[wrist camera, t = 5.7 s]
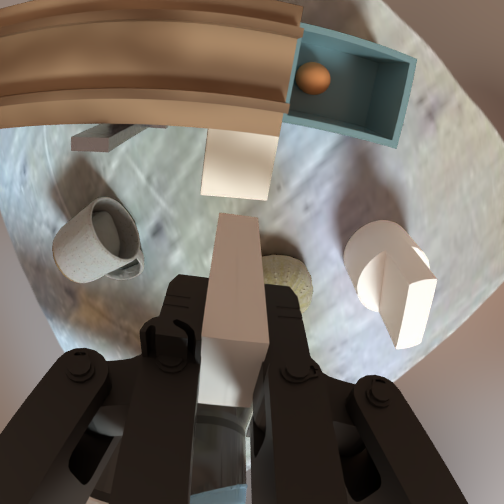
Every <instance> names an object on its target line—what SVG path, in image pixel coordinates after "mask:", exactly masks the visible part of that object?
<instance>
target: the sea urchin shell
mask: <svg viewBox="0 0 504 504" xmlns="http://www.w3.org/2000/svg"><path fill="white" fill-rule="evenodd" d="M262 267H263V277H264V284H273V285H282V286H290V288H291V289H292V290H293V292H294V293H295V294H296V295H297V297H298V300H299V305H300V311H301V314H302V313H304V312H305V311H306V309H307V308H308V306H309V305H310V303H311V299H312V294H313V286H312V280H311V275H310V274H309V272H308V270H307V268H306V266H305V265H304V264H303V263H302V262H301V261H300V260H298V259H295V258H292V257H290V256H288V255H287V256H285V255H274V254H272V255H269V256H263V257H262Z"/></svg>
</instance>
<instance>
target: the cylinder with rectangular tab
mask: <svg viewBox="0 0 504 504" xmlns="http://www.w3.org/2000/svg"><path fill="white" fill-rule="evenodd" d="M343 259H344V266H345V268H346V270H347V272H348V275H349V277H350V279H351V281H352V283H353V286H354V288H355V290H356V293H357V295H358V297H359V299H360V301H361V303H362V304H363V305H364V306H365V307H366V308H368V309H370V310H372V311H376V312H379V313H380V315H381V317H382V319H383V321H384V324H385V326H386V328H387V330H388V332H389V335H390V337H391V339H392V341H393V344H394V346H395V348H396V349H404V348H409V347H412V346H415V345H418V344H420V343H421V341H422V337H423V334H424V330H425V327H426V323H427V320H428V316H429V312H430V308H431V304H432V300H433V296H434V292H435V288H436V283H437V278H436V277H435V276H434V274H433V273H432V272H431V271H430V265H429V261H428V258H427V257H426V255H425V254H424V252H423V251H422V250H421V249H420V247H419V246H418V245H417V244H416V243H415V242H414V240H413V239H412V238H411V237H410V236H409V234H408V233H407V232H406V231H405V230H404V229H403V227H401V226H400V225H398V224H397V223H395V222H392V221H389V220H378V221H374V222H370V223H368V224H366V225H364V226H362V227H361V228H360V229H359V230H357V231H356V232H355V233H354V234H353V235H352V237H351V238H350V239H349V241H348V243H347V245H346V247H345V250H344V257H343Z"/></svg>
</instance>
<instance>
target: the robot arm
mask: <svg viewBox="0 0 504 504" xmlns="http://www.w3.org/2000/svg"><path fill="white" fill-rule="evenodd" d="M140 340H141V349H142V354H140V355H139V356H136V357H134V358H131V359H125V360H116V361H106V360H105V359H104V357H103V356H102V355H101V354H99V353H98V352H97V351H95V350H91V349H87V348H76V349H73V350H70V351H68V352H65V353H64V354H63V355H62V356H61V357H59V358H58V359H57V361H56V362H55V363H54V364H53V366H52V367H51V368H50V369H49V371H48V372H47V373H46V374H45V376H44V377H43V378H42V380H41V381H40V382H39V383H38V384H37V386H36V387H35V388H34V390H33V391H32V392H31V394H30V395H29V396H28V397H27V399H26V400H25V401H24V403H23V404H22V405H21V407H20V408H19V409H18V411H17V412H16V413H15V415H14V416H13V417H12V419H11V420H10V421H9V423H8V424H7V426H6V427H5V429H4V430H3V431H2V433H1V434H0V504H245V501H246V489H247V484H246V446H245V430H246V427H247V424H248V421H249V419H250V416H251V413H252V411H253V416H252V419H251V421H250V424H249V427H248V430H247V435H246V437H250V445H251V488H252V504H468V502H467V501H466V499H465V497H464V495H463V494H462V492H461V490H460V488H459V487H458V485H457V483H456V482H455V480H454V478H453V476H452V475H451V473H450V471H449V469H448V468H447V466H446V465H445V463H444V461H443V459H442V458H441V456H440V454H439V453H438V451H437V450H436V448H435V446H434V445H433V443H432V441H431V440H430V438H429V436H428V435H427V433H426V431H425V430H424V428H423V427H422V425H421V423H420V422H419V420H418V419H417V417H416V415H415V414H414V412H413V411H412V409H411V407H410V406H409V404H408V403H407V401H406V400H405V398H404V396H403V395H402V394H401V392H400V390H399V389H398V388H397V387H396V386H395V384H394V383H393V382H391V381H390V380H388V379H386V378H385V377H381V376H377V375H367V376H365V377H363V378H360V379H359V380H358V382H357V383H356V384H352V383H348V382H344V381H341V380H337V379H334V378H332V377H329V376H327V375H326V374H324V373H323V372H322V371H321V369H320V366H319V365H318V364H317V363H316V362H315V361H314V360H313V359H312V358H311V356H310V353H309V348H308V343H307V338H306V333H305V328H304V324H303V320H302V314H301V311H300V305H299V300H298V297H297V295H296V294H295V293H294V292H293V290H292V289H291V288H290V286H282V285H273V284H264V277H263V267H262V256H261V245H260V234H259V224H258V218H257V217H249V216H242V215H234V214H226V213H219V218H218V225H217V231H216V237H215V243H214V250H213V256H212V263H211V270H210V276H209V278H205V277H197V276H189V275H182V274H178V275H177V276H176V277H175V278H174V279H173V280H172V281H171V282H170V283H169V286H168V289H167V292H166V296H165V299H164V302H163V306H162V309H161V312H160V316H158V317H154V318H152V319H151V320H149V321H148V322H146V323H145V324H144V325H143V327H142V328H141V330H140Z"/></svg>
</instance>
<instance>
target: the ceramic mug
mask: <svg viewBox="0 0 504 504" xmlns="http://www.w3.org/2000/svg"><path fill="white" fill-rule="evenodd" d="M52 251H53V257H54V260H55V263H56V265H57V267H58V269H59V270H60V271H61V273H62V274H63V275H64V276H65V277H67V278H68V279H69V280H71V281H73V282H76V283H88V282H91V281H94V280H97V279H98V278H100V277H102V276H107V277H109V278H112V279H115V280H126V279H131V278H134V277H136V276H138V275H140V274H141V273H142V272H143V269H144V255H143V253H142V251H141V250H140V238H139V233H138V230H137V227H136V225H135V223H134V221H133V219H132V217H131V216H130V214H129V213H128V211H127V210H126V209H125V208H124V207H123V206H122V205H121V204H120V203H119V202H117V201H116V200H114V199H112V198H109V197H100V198H97V199H95V200H94V201H93V202H91V203H90V204H89V205H88V206H87V207H85V208H84V209H83V210H82V211H80V212H79V213H78V214H77V215H76V216H75V217H73V218H72V219H71V220H70V221H69V222H68V223H66V224H65V225H64V226H63V227H62V228H61V229H60V230H59V232H58V233H57V234H56V236H55V238H54V241H53V246H52ZM135 259H137V260H138V261H139V263H138V264H137V265H134V266H132V267H129V268H127V269H118V268H120V267H122V266H124V265H126V264H128V263H130V262H132V261H133V260H135Z"/></svg>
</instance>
